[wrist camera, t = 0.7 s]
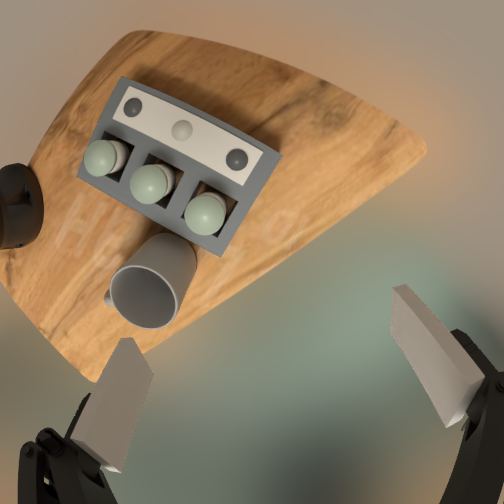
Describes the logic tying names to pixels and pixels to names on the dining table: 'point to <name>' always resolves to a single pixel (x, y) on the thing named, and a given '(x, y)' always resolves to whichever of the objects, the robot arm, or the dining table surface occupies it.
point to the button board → (194, 171)
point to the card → (188, 134)
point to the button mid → (152, 183)
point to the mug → (153, 281)
